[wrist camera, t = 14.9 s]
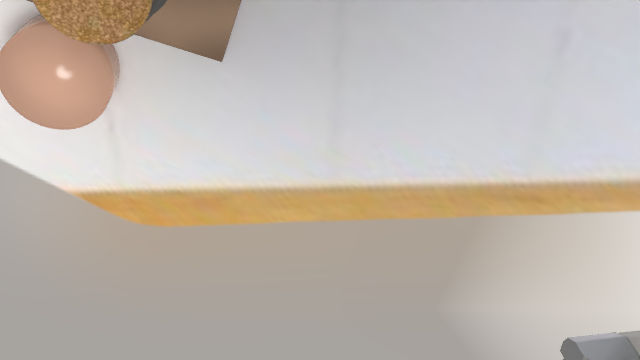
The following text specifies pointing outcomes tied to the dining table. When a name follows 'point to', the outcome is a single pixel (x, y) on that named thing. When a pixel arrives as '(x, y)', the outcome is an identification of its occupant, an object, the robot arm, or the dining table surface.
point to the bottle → (98, 18)
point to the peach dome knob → (56, 76)
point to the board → (193, 25)
